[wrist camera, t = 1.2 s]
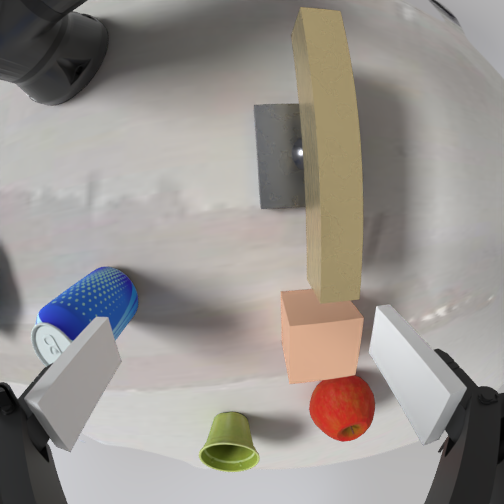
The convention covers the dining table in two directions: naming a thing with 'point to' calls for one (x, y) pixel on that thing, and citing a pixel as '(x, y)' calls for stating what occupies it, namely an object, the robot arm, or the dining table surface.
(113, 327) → the beer can
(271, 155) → the grey square base plate
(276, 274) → the dining table surface
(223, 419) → the plant pot
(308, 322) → the peach tan cube
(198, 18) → the dining table surface
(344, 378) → the apple
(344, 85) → the yellow t-shaped bar
